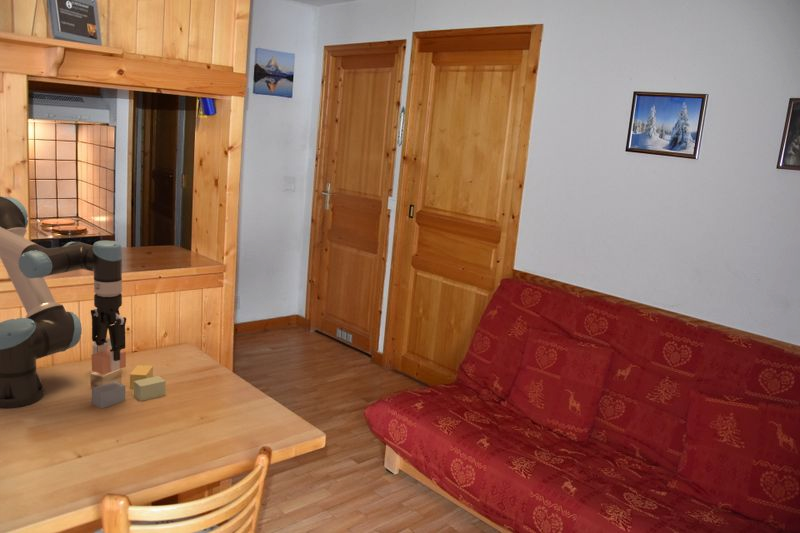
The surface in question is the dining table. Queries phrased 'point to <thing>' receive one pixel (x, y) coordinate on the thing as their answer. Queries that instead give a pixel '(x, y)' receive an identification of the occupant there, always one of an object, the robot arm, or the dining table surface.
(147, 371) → the mustard brick
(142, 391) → the sage brick
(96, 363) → the terracotta brick
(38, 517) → the dining table surface
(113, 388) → the slate brick
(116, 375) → the birch brick
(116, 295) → the robot arm
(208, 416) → the dining table surface
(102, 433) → the dining table surface
